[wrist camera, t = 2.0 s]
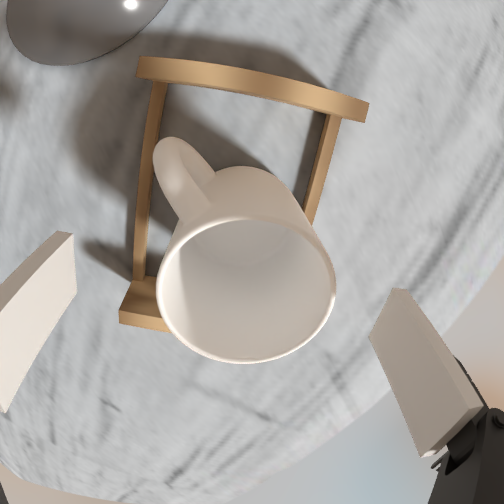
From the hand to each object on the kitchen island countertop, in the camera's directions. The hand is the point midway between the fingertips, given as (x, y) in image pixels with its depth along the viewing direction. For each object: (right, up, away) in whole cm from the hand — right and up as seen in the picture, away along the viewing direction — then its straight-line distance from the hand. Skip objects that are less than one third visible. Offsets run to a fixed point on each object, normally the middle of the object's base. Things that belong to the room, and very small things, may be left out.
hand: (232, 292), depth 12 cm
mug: (-1, +6, +11) cm, 12 cm away
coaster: (-11, +22, +2) cm, 25 cm away
